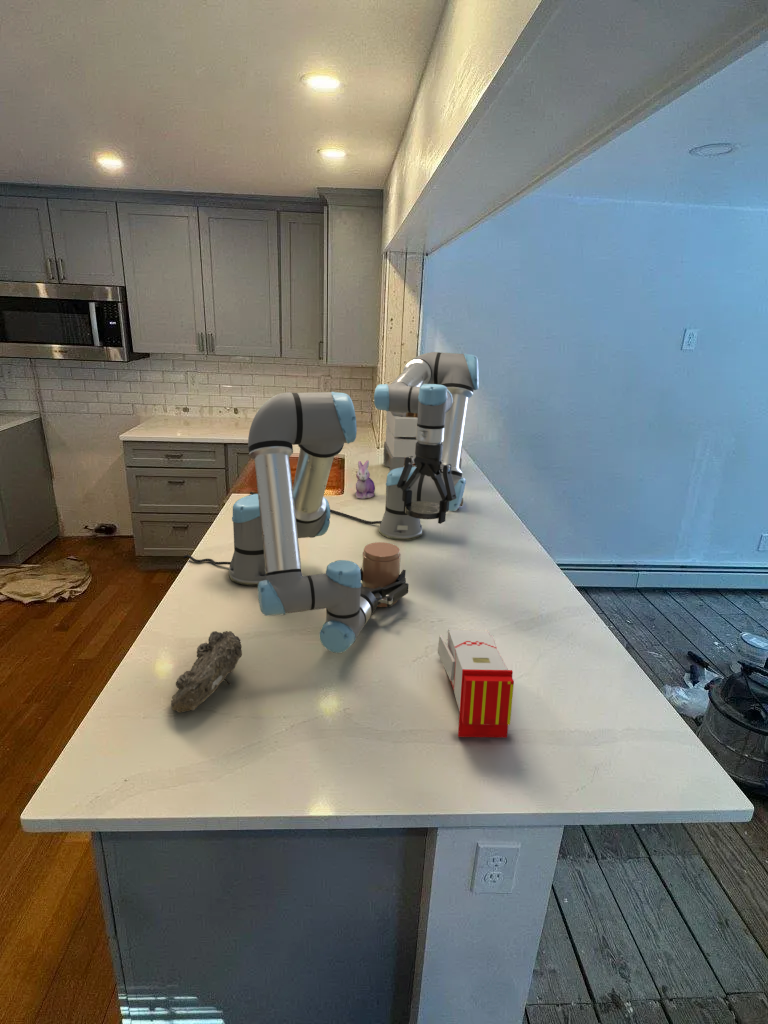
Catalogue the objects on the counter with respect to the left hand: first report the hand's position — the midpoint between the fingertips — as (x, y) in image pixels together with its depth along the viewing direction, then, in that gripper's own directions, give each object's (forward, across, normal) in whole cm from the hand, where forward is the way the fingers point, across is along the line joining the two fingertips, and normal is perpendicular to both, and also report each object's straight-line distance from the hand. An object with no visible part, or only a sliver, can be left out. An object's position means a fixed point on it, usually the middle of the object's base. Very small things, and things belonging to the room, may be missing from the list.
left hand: (385, 570), depth 157 cm
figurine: (+78, -33, -6) cm, 85 cm away
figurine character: (+81, +4, -6) cm, 81 cm away
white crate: (+122, -21, -6) cm, 124 cm away
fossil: (-52, -21, -6) cm, 57 cm away
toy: (-36, +30, -6) cm, 47 cm away
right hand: (+13, +7, +12) cm, 19 cm away
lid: (+13, +7, +15) cm, 21 cm away
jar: (-4, 0, -6) cm, 8 cm away
